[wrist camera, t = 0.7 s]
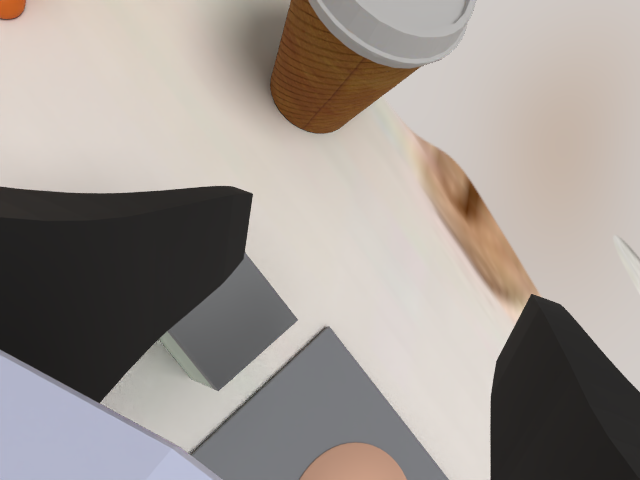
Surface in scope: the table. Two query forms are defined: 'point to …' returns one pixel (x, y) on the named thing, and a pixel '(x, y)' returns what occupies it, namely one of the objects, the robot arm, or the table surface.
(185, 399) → the table surface
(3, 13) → the toy figure
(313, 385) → the drawing mat
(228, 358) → the grey and green block
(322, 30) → the disposable coffee cup
